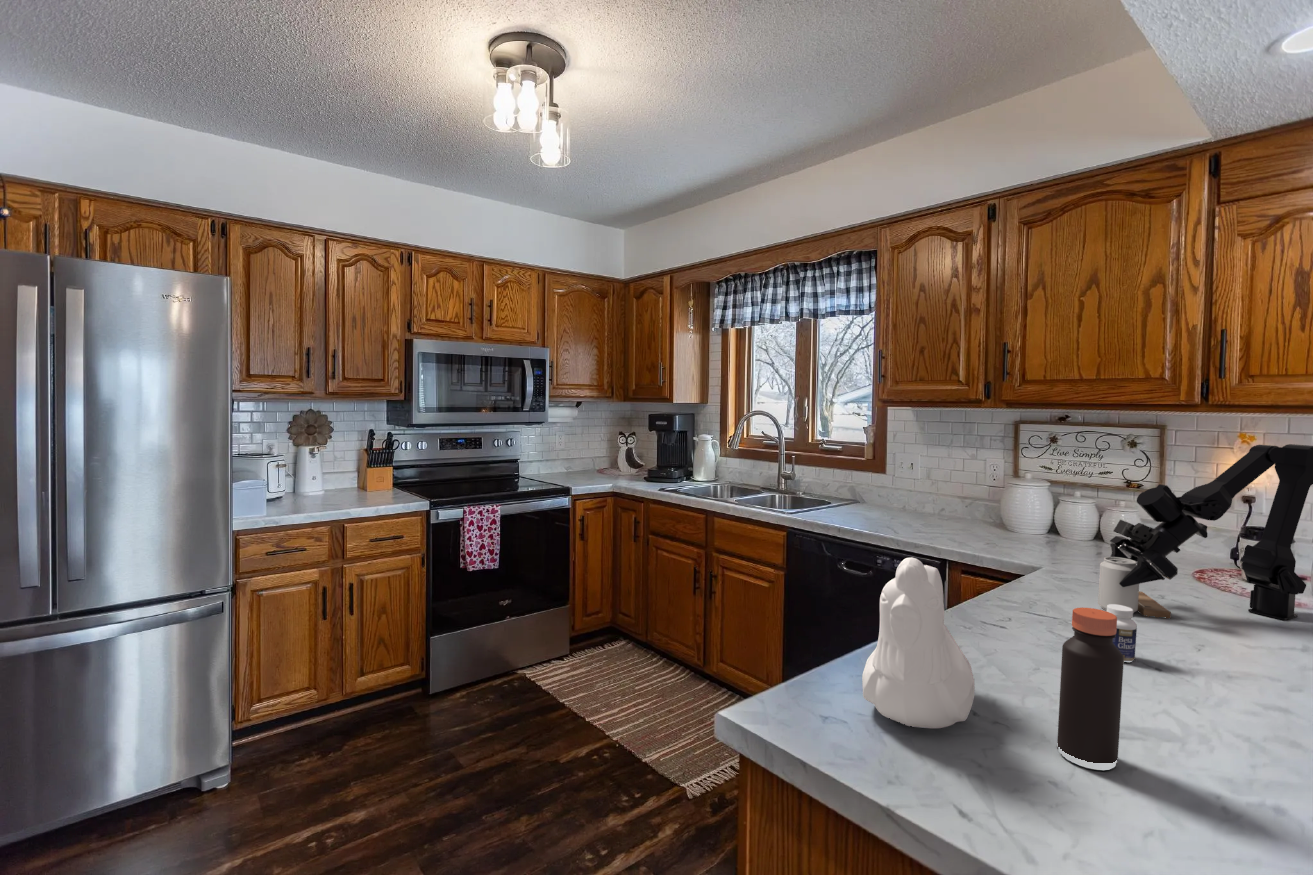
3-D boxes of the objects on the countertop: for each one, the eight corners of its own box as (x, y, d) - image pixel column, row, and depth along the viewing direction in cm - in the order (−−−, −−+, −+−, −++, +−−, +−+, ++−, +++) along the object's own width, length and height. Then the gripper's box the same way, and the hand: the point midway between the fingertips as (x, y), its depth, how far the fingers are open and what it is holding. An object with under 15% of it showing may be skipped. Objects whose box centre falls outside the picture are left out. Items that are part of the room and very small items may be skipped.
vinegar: (1092, 744, 89) (1100, 604, 88) (1130, 772, 83) (1139, 622, 81) (1045, 744, 89) (1053, 604, 88) (1079, 772, 82) (1087, 622, 81)
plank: (1117, 595, 158) (1118, 589, 158) (1141, 597, 157) (1142, 591, 157) (1143, 615, 143) (1144, 609, 143) (1170, 618, 142) (1170, 611, 142)
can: (1124, 605, 151) (1127, 555, 150) (1145, 616, 143) (1148, 564, 142) (1090, 604, 151) (1093, 554, 151) (1110, 614, 144) (1113, 562, 143)
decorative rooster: (945, 760, 85) (953, 578, 83) (838, 717, 96) (843, 556, 94) (1005, 699, 103) (1012, 547, 101) (909, 669, 114) (914, 532, 112)
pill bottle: (1119, 665, 116) (1122, 613, 116) (1092, 653, 121) (1095, 603, 121) (1142, 662, 118) (1145, 610, 117) (1114, 651, 123) (1117, 601, 122)
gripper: (1121, 502, 154) (1068, 545, 157) (1164, 516, 136) (1103, 564, 139) (1156, 536, 153) (1102, 578, 156) (1204, 555, 135) (1142, 602, 138)
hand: (1111, 579), depth 147 cm, fingers open, 9 cm apart
